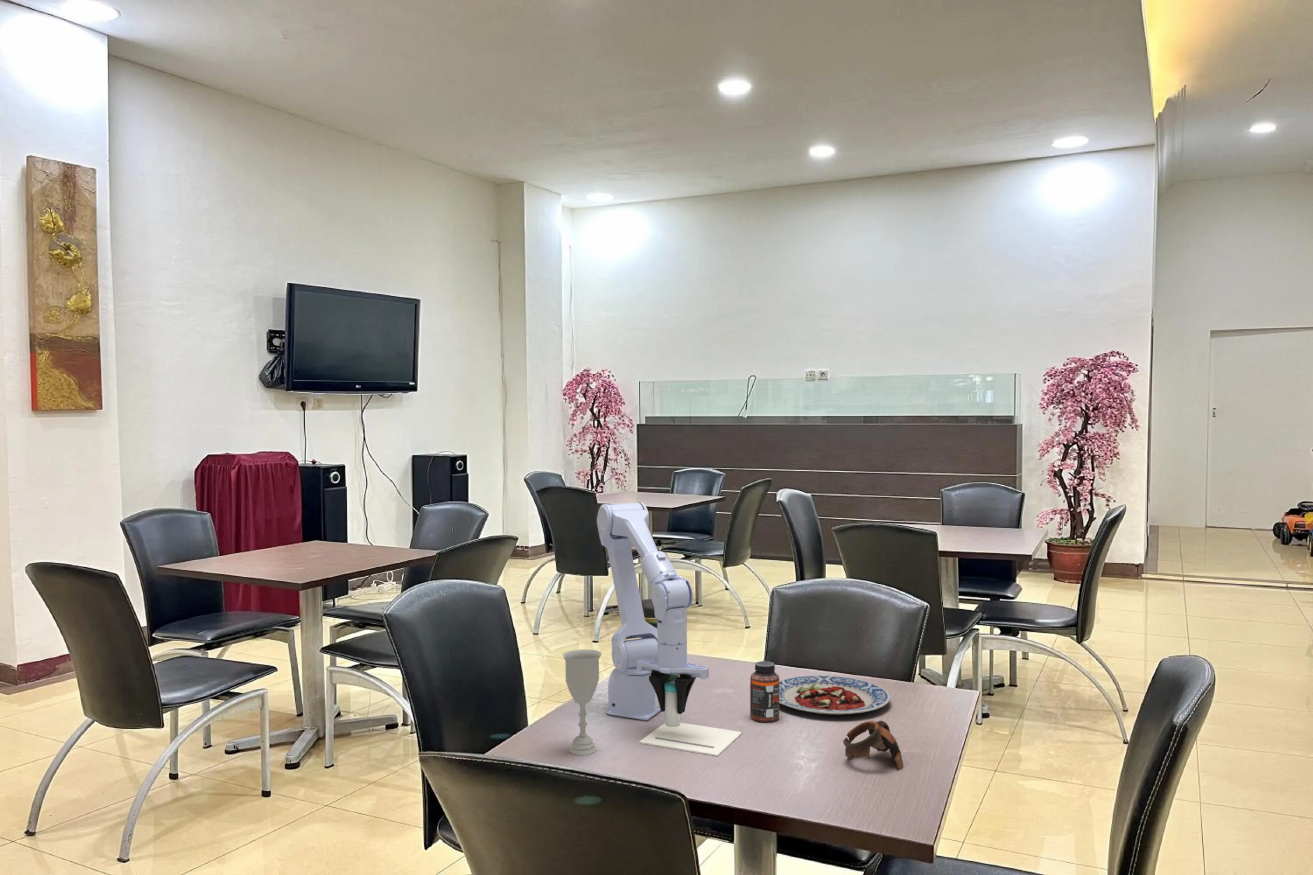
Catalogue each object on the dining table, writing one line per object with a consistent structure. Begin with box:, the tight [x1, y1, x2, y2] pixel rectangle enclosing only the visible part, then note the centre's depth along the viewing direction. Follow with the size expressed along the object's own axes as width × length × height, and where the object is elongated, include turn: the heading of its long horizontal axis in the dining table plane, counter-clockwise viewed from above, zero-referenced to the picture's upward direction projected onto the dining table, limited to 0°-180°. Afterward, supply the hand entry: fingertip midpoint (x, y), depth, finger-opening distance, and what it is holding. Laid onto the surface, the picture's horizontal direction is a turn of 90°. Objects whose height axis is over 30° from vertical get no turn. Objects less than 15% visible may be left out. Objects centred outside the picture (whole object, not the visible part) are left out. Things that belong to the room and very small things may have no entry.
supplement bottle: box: [749, 660, 780, 723], centre depth 191 cm, size 6×6×11 cm
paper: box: [638, 722, 743, 757], centre depth 180 cm, size 16×13×1 cm
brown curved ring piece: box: [842, 720, 904, 770], centre depth 168 cm, size 12×10×8 cm
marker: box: [664, 680, 682, 727], centre depth 181 cm, size 3×3×8 cm
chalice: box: [562, 648, 602, 756], centre depth 174 cm, size 7×7×18 cm
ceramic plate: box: [779, 675, 891, 716], centre depth 202 cm, size 26×26×3 cm
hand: (672, 711), depth 181 cm, fingers closed on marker, 3 cm apart
